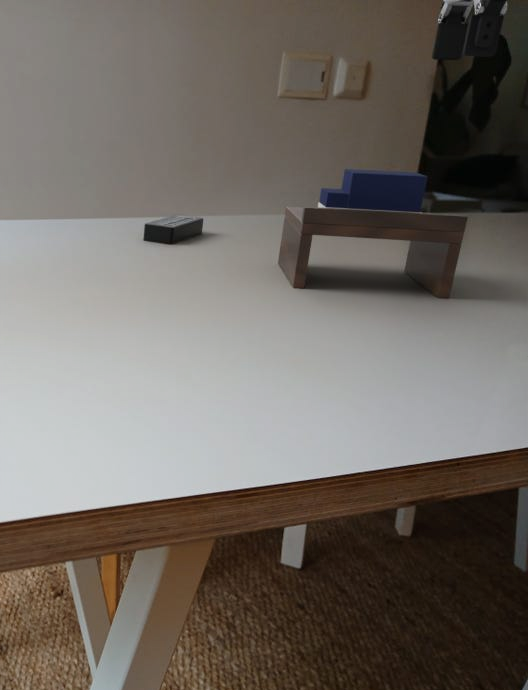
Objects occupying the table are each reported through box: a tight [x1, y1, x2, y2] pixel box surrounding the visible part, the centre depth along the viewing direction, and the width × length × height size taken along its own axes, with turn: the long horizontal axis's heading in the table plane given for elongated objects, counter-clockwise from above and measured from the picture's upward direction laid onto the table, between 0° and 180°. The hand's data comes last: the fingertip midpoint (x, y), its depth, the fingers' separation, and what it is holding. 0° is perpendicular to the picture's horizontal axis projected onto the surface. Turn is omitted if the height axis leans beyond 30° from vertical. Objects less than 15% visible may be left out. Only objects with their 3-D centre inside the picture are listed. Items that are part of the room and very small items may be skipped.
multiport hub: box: [143, 214, 204, 245], centre depth 105 cm, size 4×11×2 cm, turn 146°
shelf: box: [277, 206, 469, 299], centre depth 83 cm, size 16×12×9 cm
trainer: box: [317, 168, 429, 213], centre depth 81 cm, size 10×4×5 cm, turn 81°
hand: (461, 57), depth 85 cm, fingers open, 9 cm apart
